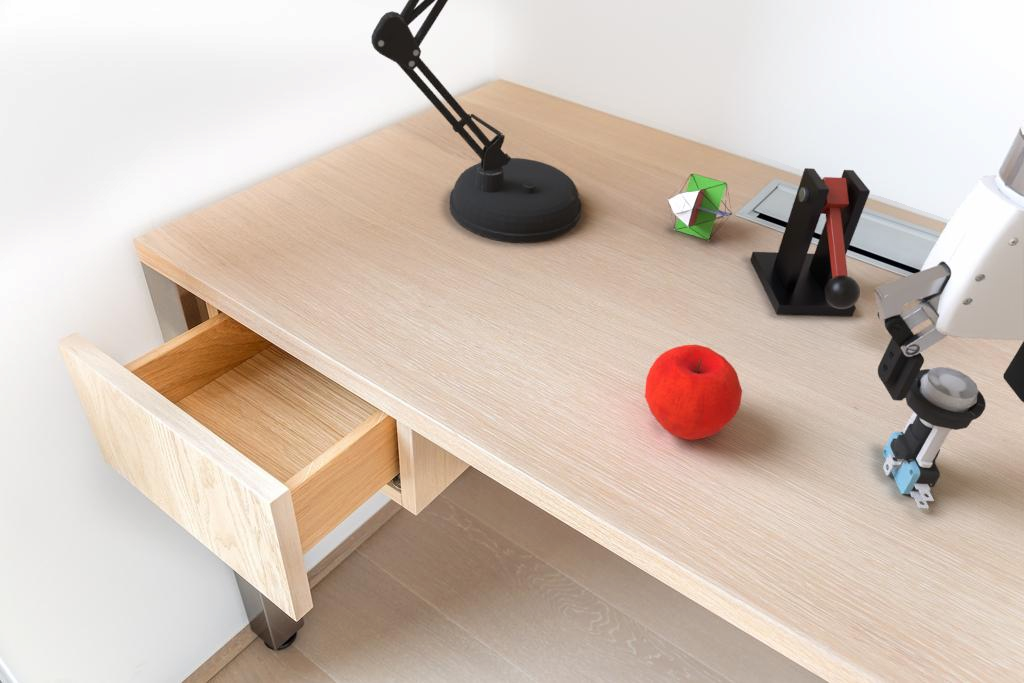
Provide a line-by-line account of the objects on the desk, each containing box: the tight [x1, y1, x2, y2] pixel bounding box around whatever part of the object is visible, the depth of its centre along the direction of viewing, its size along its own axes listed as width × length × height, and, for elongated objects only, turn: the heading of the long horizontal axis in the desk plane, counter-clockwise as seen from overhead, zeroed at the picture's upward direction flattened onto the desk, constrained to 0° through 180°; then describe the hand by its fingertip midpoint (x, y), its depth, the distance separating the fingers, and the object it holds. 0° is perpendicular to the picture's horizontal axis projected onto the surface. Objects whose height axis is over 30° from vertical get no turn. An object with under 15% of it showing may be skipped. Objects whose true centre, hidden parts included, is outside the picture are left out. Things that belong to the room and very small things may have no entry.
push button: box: [882, 366, 987, 510], centre depth 61 cm, size 7×5×10 cm
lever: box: [821, 176, 861, 309], centre depth 77 cm, size 13×3×3 cm
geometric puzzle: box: [667, 172, 733, 242], centre depth 91 cm, size 7×7×8 cm
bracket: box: [749, 167, 871, 317], centre depth 81 cm, size 10×8×13 cm
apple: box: [644, 344, 743, 441], centre depth 65 cm, size 8×8×7 cm
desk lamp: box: [371, 0, 582, 244], centre depth 81 cm, size 24×26×45 cm
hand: (953, 389), depth 58 cm, fingers open, 9 cm apart
